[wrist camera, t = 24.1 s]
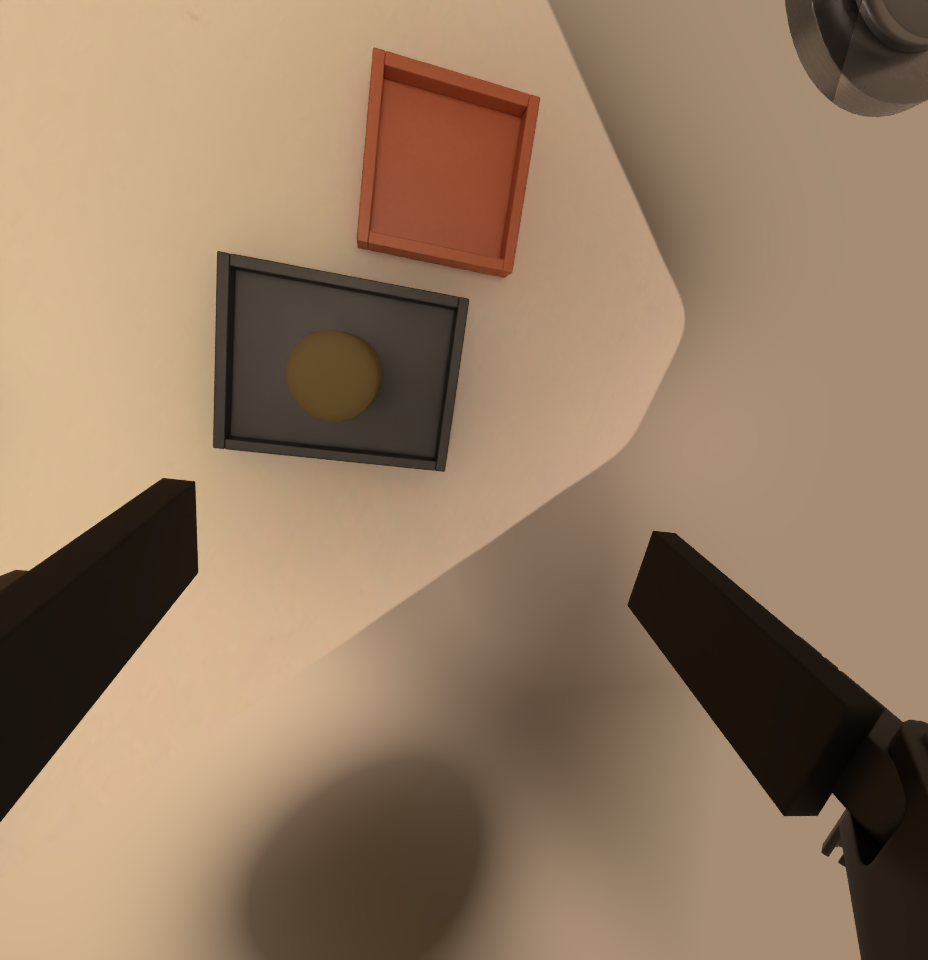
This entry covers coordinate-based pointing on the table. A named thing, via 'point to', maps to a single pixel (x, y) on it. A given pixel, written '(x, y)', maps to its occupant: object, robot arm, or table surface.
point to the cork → (333, 374)
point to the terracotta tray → (444, 165)
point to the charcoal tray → (350, 309)
